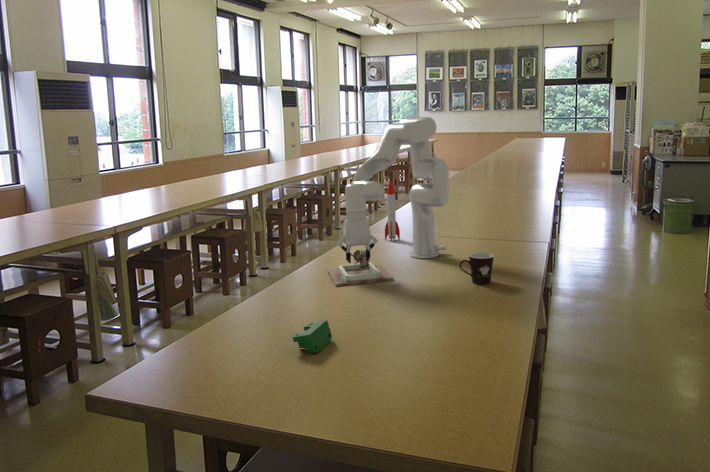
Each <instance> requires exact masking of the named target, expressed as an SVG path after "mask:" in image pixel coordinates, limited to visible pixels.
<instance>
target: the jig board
mask: <svg viewBox="0 0 710 472" xmlns="http://www.w3.org/2000/svg"><path fill="white" fill-rule="evenodd" d="M368 263H369V266H368V267H366V268H363V269H362V268H359V265H360V262H359V263H357V264H356V265H355V266H354V263H352V264H351V263H349V264H341V265H339V266H338V268H335V269H327V274H328V276H329V278H330V280H331V281H332V283H333V284H334V286H335V287H344V286H353V285H363V284H373V283H381V282H382V283H383V282H389V281H391V282H392V281H394V277H393V276H392V275H391V274H390V273H389V272H388V271H387V270H386V269H385V268H384V267H383V266H382V265H381V264H377V265H375V264H373V263H372V262H368Z"/></svg>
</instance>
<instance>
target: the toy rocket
mask: <svg viewBox="0 0 710 472" xmlns="http://www.w3.org/2000/svg"><path fill="white" fill-rule="evenodd" d="M386 211H387V214H386V215H387V221H386V223H385V225H384V227H385V228H384V240H385V241H386V240H387V238H388V239H390V242H391V243H392V242H393V240H394V239H396V238H397V239H398V241H401V240H400V239H401V235H400V234H401V232H400V231H401V230H400V226H399V223H398V222H397V220H396V193H395V190H394V186H393V183H392V181H391V179H390V180H389V182H388V187H387V190H386Z"/></svg>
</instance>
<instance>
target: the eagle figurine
mask: <svg viewBox="0 0 710 472" xmlns="http://www.w3.org/2000/svg"><path fill="white" fill-rule="evenodd" d="M350 254H351V256H352V257H353V260H354V261H355V262H354V263H353V264H354V266H355V265H356V264H359V263H360V265H359V268H362V269H363V268H366V267H368V266H369V263H370V262H369V261H367V260H366V253H365V250H360V249H359V250H358V249H357V250H355V251H354V252H353V253H351V252H350Z"/></svg>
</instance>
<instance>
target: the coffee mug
mask: <svg viewBox="0 0 710 472" xmlns="http://www.w3.org/2000/svg"><path fill="white" fill-rule="evenodd" d="M468 258H469V260H467V259H463V260H461V261H460V263H459V269H460V270H461V271H462V272H464V273H466V274H467V275H469V276H470V277H471V280H472V284H474V285H478V286H483V285H484V286H486V285H490V284H491V281H492V273H493V263H494V254H492V253H489V252H474V253H473V252H472V253H471V254H469V255H468ZM465 262H466V263H468V265H469V266H470V267H469V268H470V272H468V271H466V270H464V269H463V267H462V264H463V263H465Z"/></svg>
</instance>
